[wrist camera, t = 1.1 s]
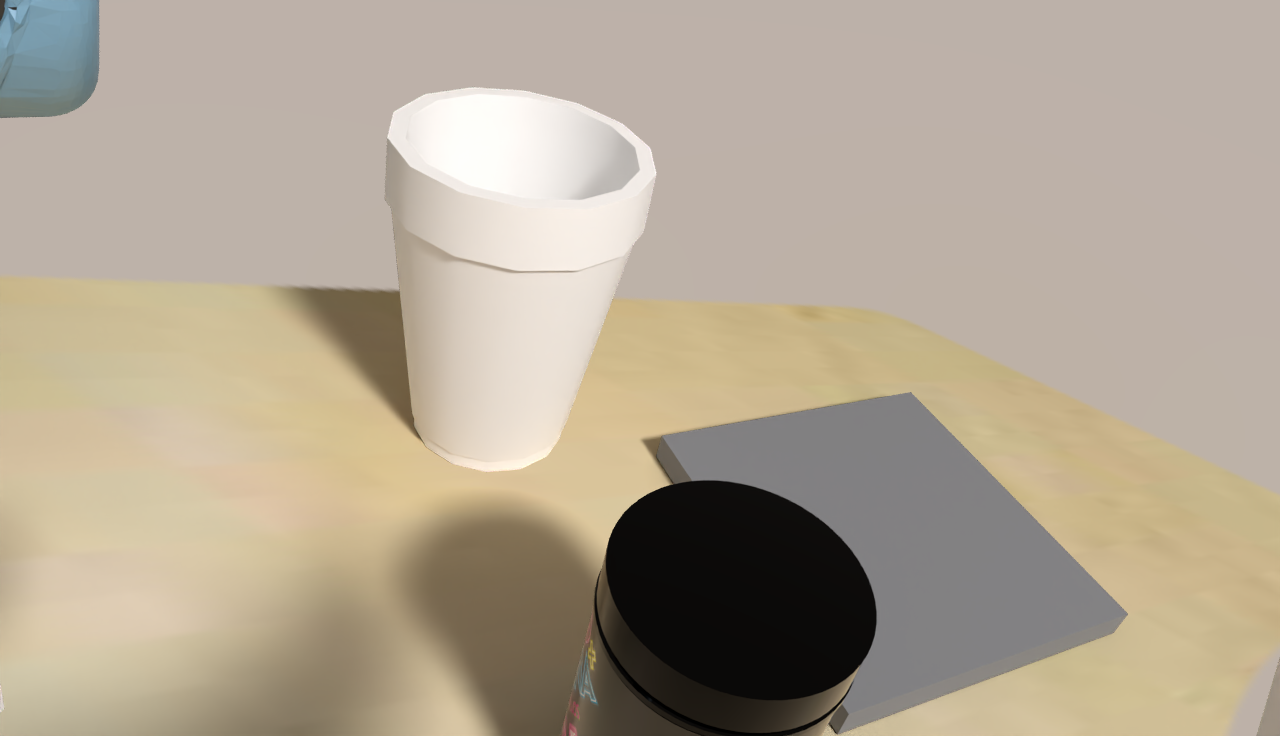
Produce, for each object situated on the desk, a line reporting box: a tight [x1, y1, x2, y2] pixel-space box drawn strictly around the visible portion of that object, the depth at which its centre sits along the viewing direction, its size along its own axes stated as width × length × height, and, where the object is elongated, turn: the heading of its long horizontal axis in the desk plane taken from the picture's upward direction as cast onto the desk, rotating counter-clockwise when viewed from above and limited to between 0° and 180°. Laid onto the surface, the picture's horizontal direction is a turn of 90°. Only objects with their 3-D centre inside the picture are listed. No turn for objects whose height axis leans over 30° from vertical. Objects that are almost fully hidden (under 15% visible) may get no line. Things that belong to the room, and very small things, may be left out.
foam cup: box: [385, 87, 657, 472], centre depth 38 cm, size 10×9×13 cm
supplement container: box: [560, 480, 877, 736], centre depth 26 cm, size 7×7×10 cm
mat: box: [656, 392, 1128, 735], centre depth 40 cm, size 14×14×1 cm
